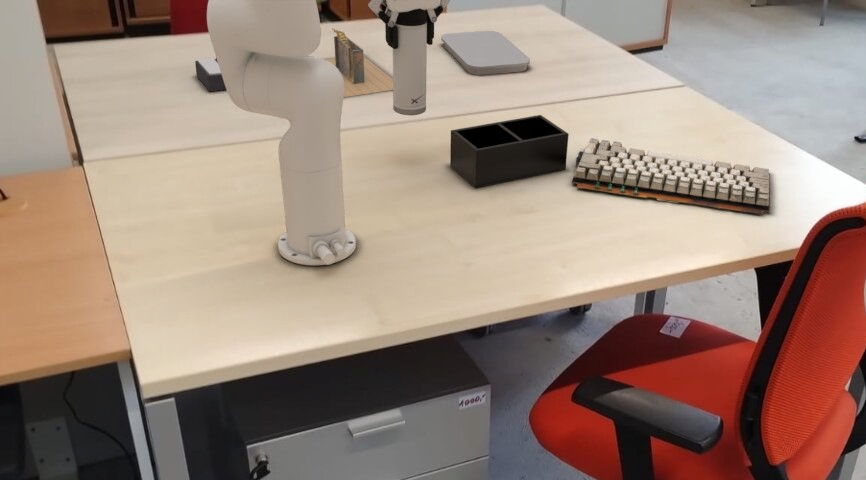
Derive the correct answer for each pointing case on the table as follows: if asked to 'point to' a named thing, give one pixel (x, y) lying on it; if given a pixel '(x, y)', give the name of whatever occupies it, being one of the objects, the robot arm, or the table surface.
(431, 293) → the table surface
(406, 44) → the travel mug
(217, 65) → the calculator
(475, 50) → the grey flat block
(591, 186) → the mechanical keyboard
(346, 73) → the architectural model on board
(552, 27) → the table surface
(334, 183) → the robot arm
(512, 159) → the caddy
